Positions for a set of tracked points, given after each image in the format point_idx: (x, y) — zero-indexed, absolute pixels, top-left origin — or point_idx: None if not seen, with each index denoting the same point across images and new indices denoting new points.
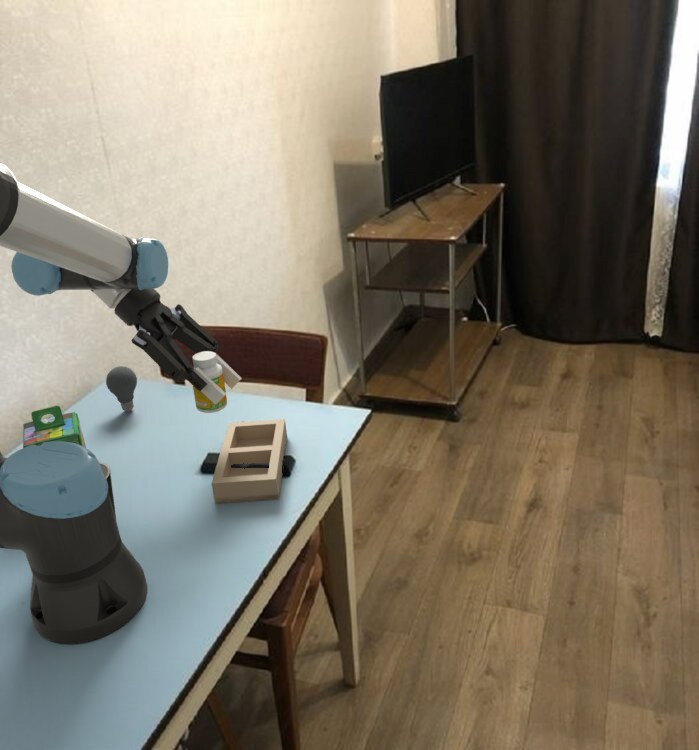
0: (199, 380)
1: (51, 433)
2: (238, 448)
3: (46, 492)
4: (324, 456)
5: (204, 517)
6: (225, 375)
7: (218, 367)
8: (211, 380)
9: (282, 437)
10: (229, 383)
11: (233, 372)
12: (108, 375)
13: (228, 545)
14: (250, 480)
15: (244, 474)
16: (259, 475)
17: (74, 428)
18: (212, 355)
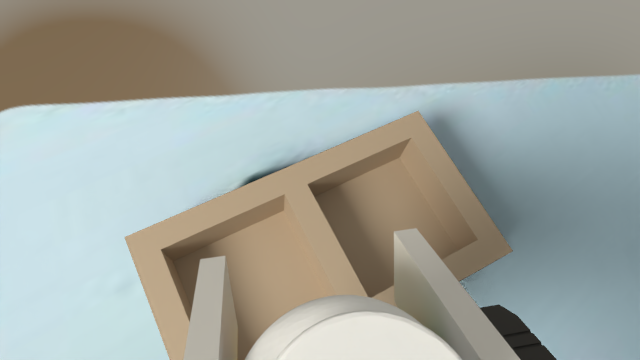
0: (521, 341)
1: None
2: (336, 282)
3: None
4: (211, 122)
5: (533, 258)
6: (231, 348)
7: (317, 318)
8: (439, 293)
9: (230, 193)
10: (235, 331)
11: (211, 291)
12: None
13: (567, 158)
14: (452, 162)
15: (372, 249)
16: (424, 153)
17: None
18: (333, 354)
